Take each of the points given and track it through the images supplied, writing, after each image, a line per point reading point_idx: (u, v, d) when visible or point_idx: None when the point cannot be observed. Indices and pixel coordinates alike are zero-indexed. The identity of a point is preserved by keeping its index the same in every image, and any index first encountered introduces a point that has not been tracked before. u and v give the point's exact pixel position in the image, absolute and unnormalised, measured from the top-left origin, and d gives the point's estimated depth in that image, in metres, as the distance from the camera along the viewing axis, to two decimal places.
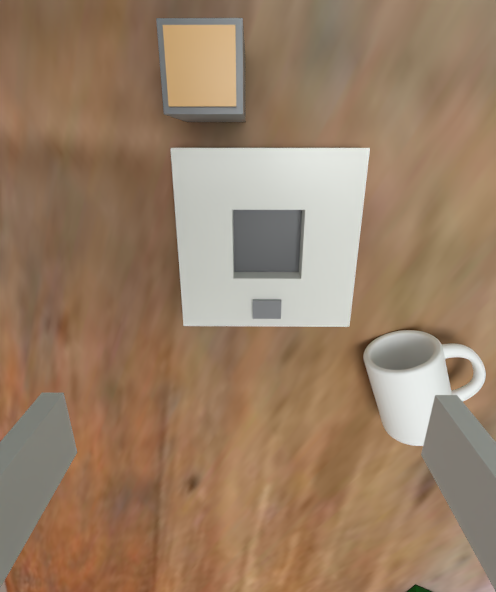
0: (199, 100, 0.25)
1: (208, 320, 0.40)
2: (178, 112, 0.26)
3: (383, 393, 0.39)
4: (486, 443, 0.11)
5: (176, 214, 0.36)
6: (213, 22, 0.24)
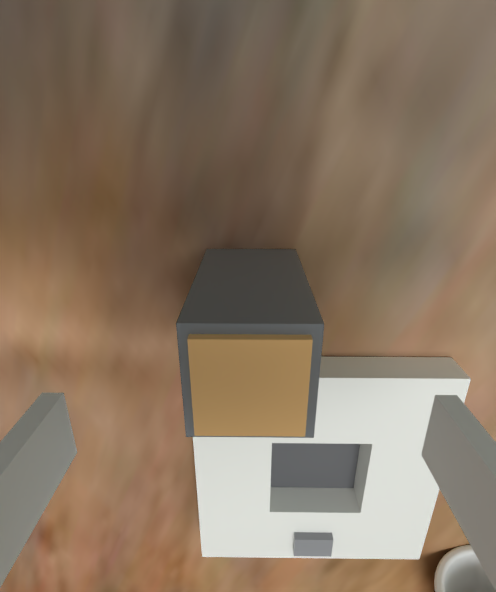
0: (245, 429, 0.15)
1: (235, 551, 0.30)
2: (209, 435, 0.16)
3: None
4: (486, 443, 0.11)
5: (195, 447, 0.26)
6: (273, 329, 0.14)
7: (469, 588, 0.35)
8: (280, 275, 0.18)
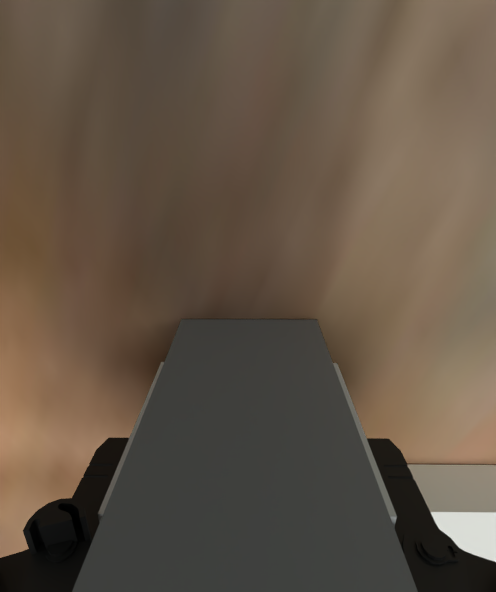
0: None
1: None
2: None
3: None
4: None
5: None
6: None
7: None
8: (300, 394, 0.11)
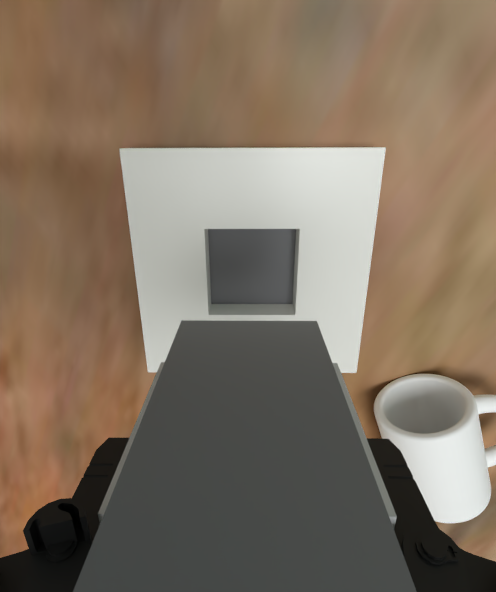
0: None
1: None
2: None
3: None
4: None
5: (131, 235, 0.27)
6: None
7: (412, 423, 0.36)
8: (300, 396, 0.11)
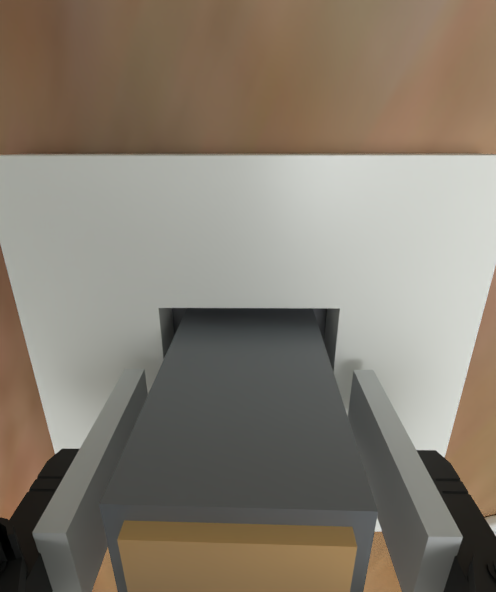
0: None
1: None
2: None
3: None
4: (384, 408, 0.12)
5: (22, 318, 0.14)
6: (282, 517, 0.07)
7: None
8: (292, 364, 0.12)
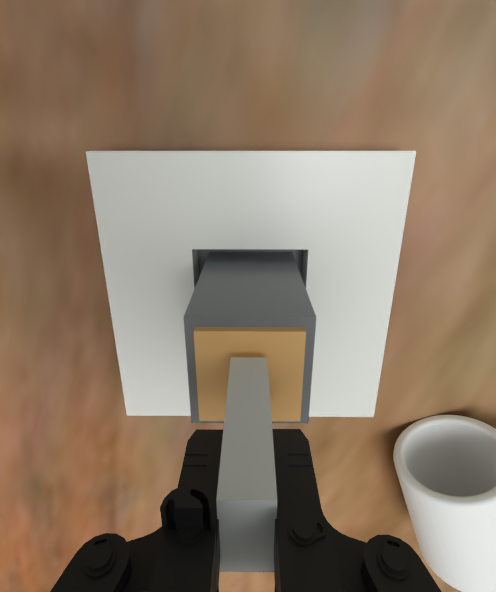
0: None
1: (163, 408, 0.27)
2: (213, 421, 0.17)
3: (426, 521, 0.26)
4: (260, 391, 0.13)
5: (103, 256, 0.22)
6: (271, 322, 0.15)
7: (436, 470, 0.31)
8: (277, 276, 0.20)
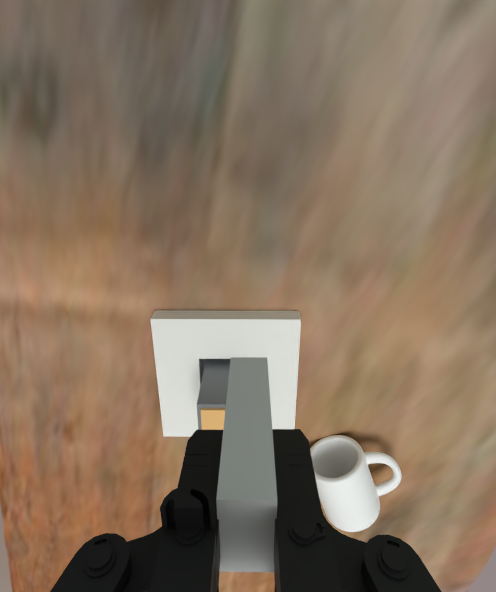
0: None
1: (183, 432, 0.51)
2: None
3: (319, 492, 0.50)
4: (261, 391, 0.13)
5: (156, 361, 0.47)
6: None
7: (335, 465, 0.55)
8: None
